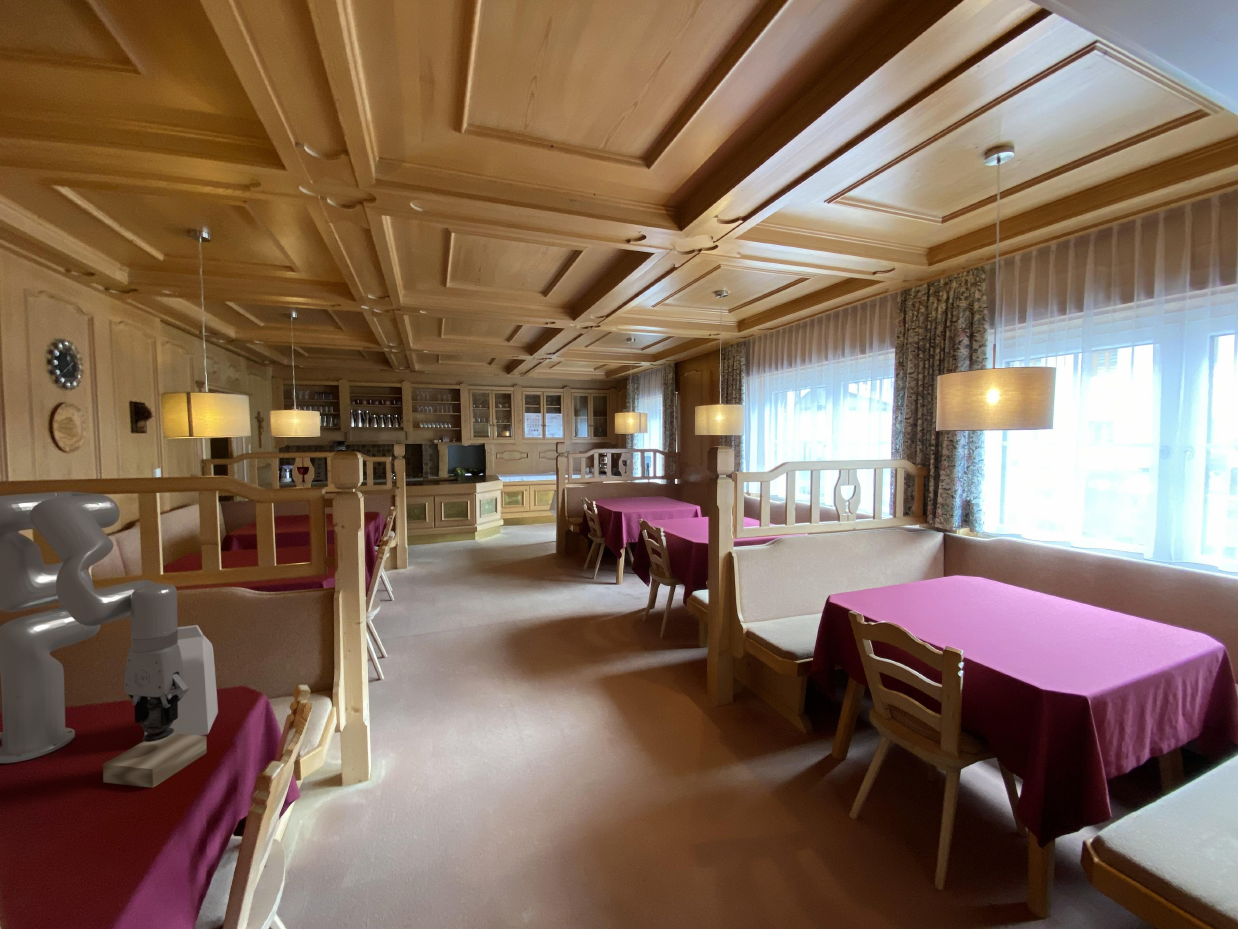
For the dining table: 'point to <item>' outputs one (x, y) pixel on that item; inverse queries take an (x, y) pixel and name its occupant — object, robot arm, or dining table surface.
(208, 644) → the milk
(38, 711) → the robot arm
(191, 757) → the beech block
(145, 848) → the dining table surface
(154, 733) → the black chess piece
